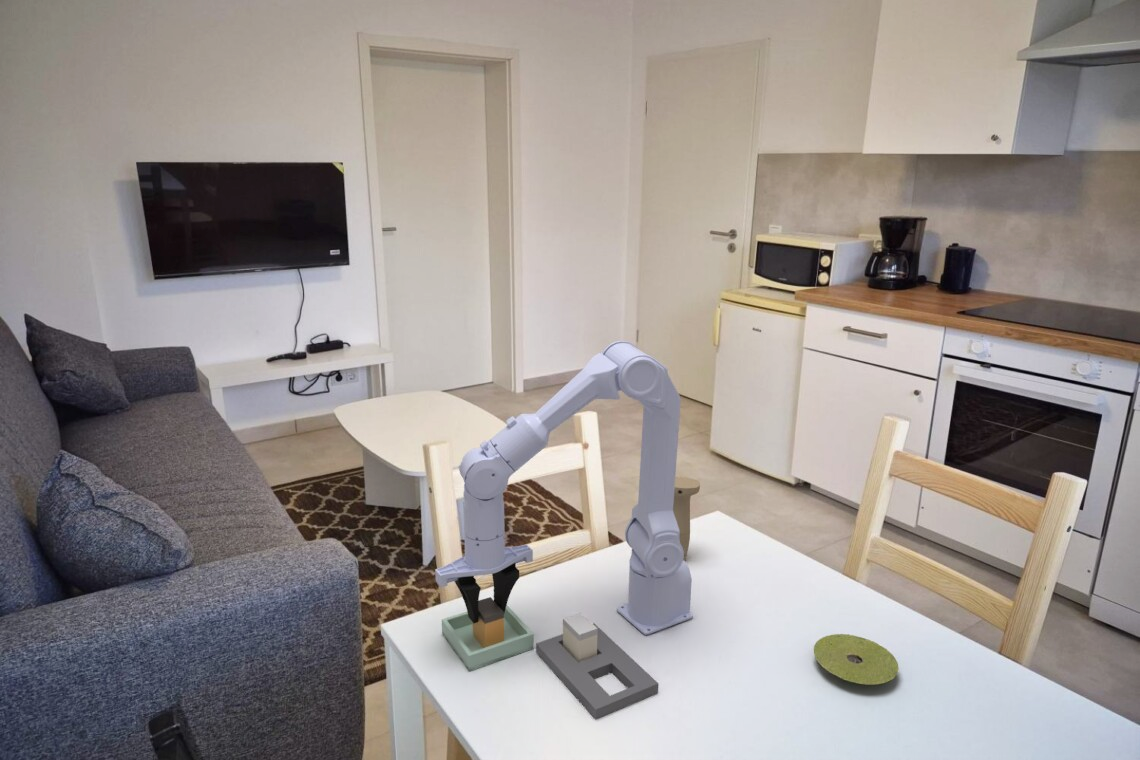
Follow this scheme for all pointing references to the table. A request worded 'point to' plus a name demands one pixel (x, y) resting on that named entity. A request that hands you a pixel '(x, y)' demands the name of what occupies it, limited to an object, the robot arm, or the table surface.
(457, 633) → the parts tray
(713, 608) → the table surface
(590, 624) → the block
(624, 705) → the block
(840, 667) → the green sanding disc
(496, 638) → the block
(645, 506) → the robot arm
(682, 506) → the handle
